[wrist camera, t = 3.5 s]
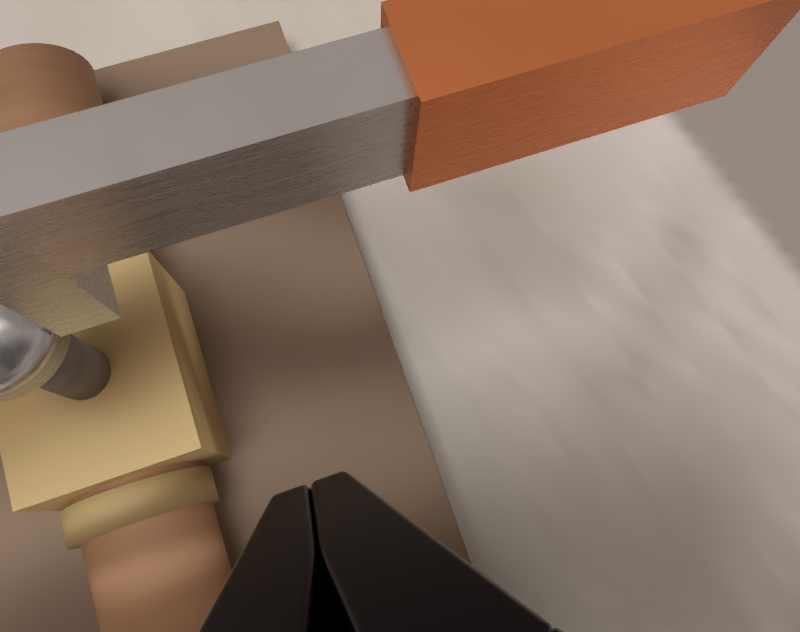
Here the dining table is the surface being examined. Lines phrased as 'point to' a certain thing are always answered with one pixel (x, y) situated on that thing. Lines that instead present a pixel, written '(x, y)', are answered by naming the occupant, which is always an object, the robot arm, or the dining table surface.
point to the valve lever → (336, 134)
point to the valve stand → (195, 391)
